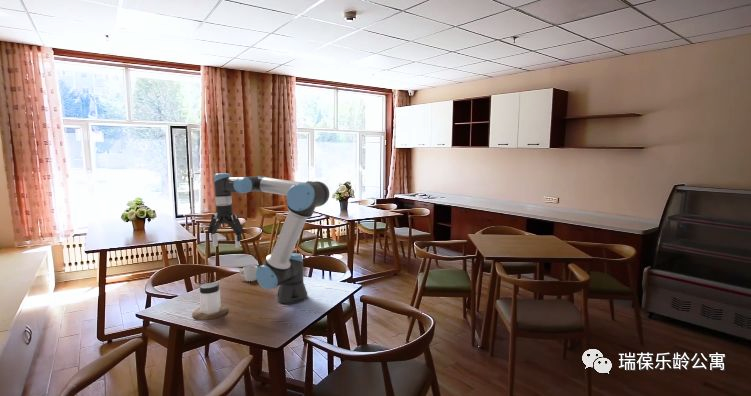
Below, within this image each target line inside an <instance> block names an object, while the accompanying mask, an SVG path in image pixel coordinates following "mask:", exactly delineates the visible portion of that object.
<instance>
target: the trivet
mask: <svg viewBox="0 0 751 396" xmlns="http://www.w3.org/2000/svg"><path fill="white" fill-rule="evenodd" d="M228 312H229V308H228V306H226V305H222V304H221V308H220V310H219V312H215V313H211V314H204V313H201V312H200V307H199V308H197V309H195V310H194V311H192V318H193V319H195V320H198V321H209V320H214V319H218V318H221V317H223V316H225V315H226V314H228Z"/></svg>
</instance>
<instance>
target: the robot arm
mask: <svg viewBox="0 0 751 396" xmlns="http://www.w3.org/2000/svg"><path fill="white" fill-rule="evenodd" d="M213 178H214V179H213V184H214V185H213V186H214V197H215V198H214V201H215V205H216V206H215V213H214V214H211V219H210V223H209V225H208V228H207V233H208V234H209V233H210V235H211V240H212V248H215V247H216V248H217V247H218V246H219V241H218V232H217V231H218V230H219V228H220V227H221V225H223V224H225V225H228V226H229V227H230V228H231V229H232V231H233V232H234V233H235V235H234V241H235V243H234V244H235V249H239V248H241V241H242V234H244V233H245V230H244V227H243V226H242V224H241V221H240V219H239V214H237V213H236V214H233V205H232V203H233V202H232V201H233V200H232V193H233V194H248V193H249V192H262V193H269V194H275V195H280V196H281V195H282V196H286V204H287V205H286V209H287V210H288V213H287V214H286V217H285V220H284V222H283V225H282V227H281V230H280V231H279V234H278V237H277V239H276V242H275V244H274V247H273V249H272V251H271V253H270V254H268V255H267V256H266V258H265V260H264V262H263V264H261V265H259V266H257V270H256V280H257V283H258V284H259V286H260V287H262V288H263V289H265V290H272V289H275V288H277V287H278V290H277V294H276V301H277V302H278V303H280V304H285V305H286V304H288V305H289V304H292V305H293V304H298V303H302V302H304V301H306V300H307V299H308V291H307V289H306V288H307V287H306V286H305V284H304V283H305V282H304V261H303V255H302V254H300V253H295V252H294V250H295V247H296V246H297V243H298V241H299V238H300V236H301V234H302V231H303V228H304V227H305V223H306V222H307V219H308V218H311V217H312V216H313V213H314V211H315V210H316V208H317V207H322V206H324V205H325V204H326V203H327V202H328V200H329V198H330V188H329V187H328V186H327V185H326V184H325V183H324V182H322V181H319V180H318V181H313V180H312V181H311V180H307V181H306V182H304V181H295V180H287V179H280V178H273V177H266V176H265V175H255V176H239V177H234V176H233V177H231V174H230V173H226V172H225V173H215V174H214V176H213Z"/></svg>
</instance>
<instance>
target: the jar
mask: <svg viewBox="0 0 751 396" xmlns="http://www.w3.org/2000/svg"><path fill="white" fill-rule="evenodd" d="M198 294H199V308H200V312H201V313H204V314H211V313H215V312H219V310H220V308H221V305H222V303H221V289H220V284H219V283H218V282H207V283H203V284H201V285H200V286H199V293H198Z"/></svg>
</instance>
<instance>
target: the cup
mask: <svg viewBox="0 0 751 396" xmlns="http://www.w3.org/2000/svg"><path fill="white" fill-rule="evenodd" d="M257 268H258V266H257V265H252V264H251V265H245V266H244V267H243V268H241V269H240V270H239V275H240V277H243V278H244V280H245V282H248V281H249V282H250V281H251V282H255V281H256V280H257V279H256V270H257ZM242 272H243V273H242Z"/></svg>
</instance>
